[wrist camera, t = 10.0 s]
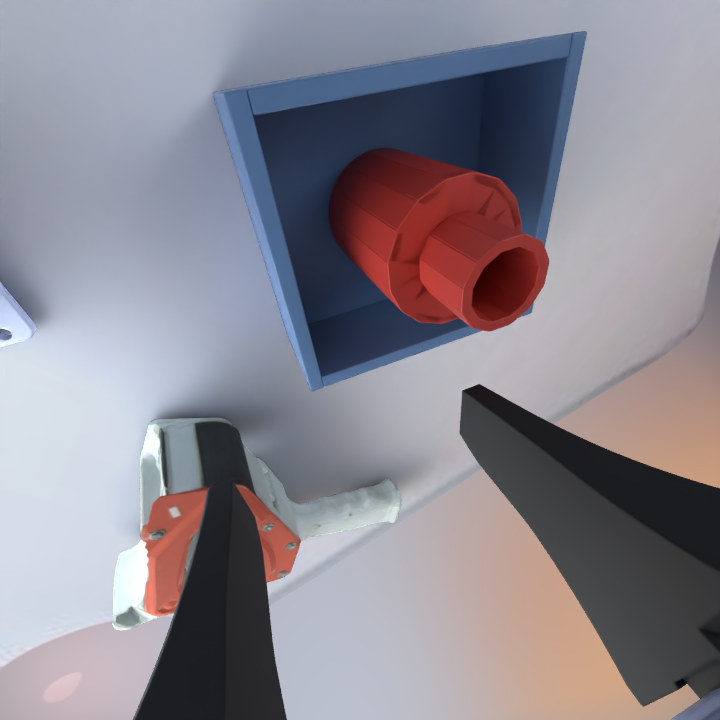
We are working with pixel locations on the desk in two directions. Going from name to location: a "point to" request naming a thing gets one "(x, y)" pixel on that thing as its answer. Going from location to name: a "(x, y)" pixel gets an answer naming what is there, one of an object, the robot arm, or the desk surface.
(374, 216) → the bottle
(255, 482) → the tape dispenser
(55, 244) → the desk surface
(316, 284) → the tub
